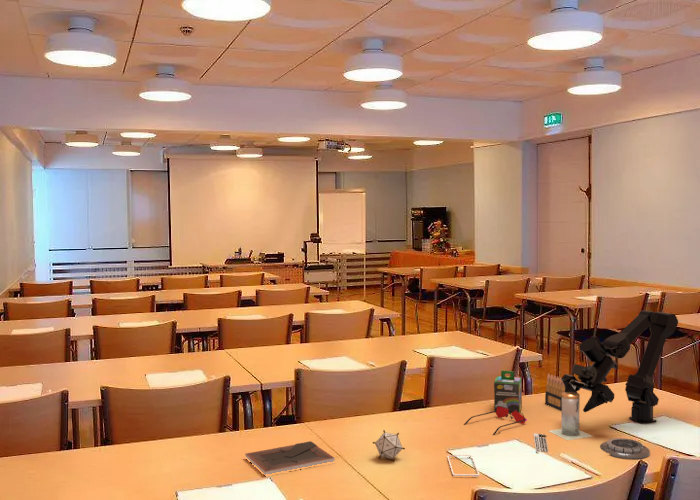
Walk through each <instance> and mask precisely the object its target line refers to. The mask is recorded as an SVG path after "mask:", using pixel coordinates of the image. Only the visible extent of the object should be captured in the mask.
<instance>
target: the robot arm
mask: <svg viewBox="0 0 700 500" xmlns="http://www.w3.org/2000/svg"><path fill="white" fill-rule="evenodd" d="M678 324H679V319H678V316H677V315H676V314H674V313H670V312H664V311H651V310H645V309H643V310H640V311H639V314H638V315H637V316H636V317H635V318H634V319H633V320H631V322H630V323H628V324H627V326H625V327H624V328H623V329H622V330H621V331H619V332H618V333H616V334H612V335H610V336H608V337H606V338H605V339H604V340H603V341H602V342H601V341H600V339H599V337H598V336H595V335H591V336H590V337H589V338H586V339H584V340H583V341H582V342H580V345H579V349H580V351H581V352H582V353H583V355H585V357H586V358H587V360H589V362H591V363H592V364H591V365H587V366H583V365H579V364H578V363H577V364H576V363H574V364H573V366H572V370H571V372H570V373H571V374H568V373H566V374H565V373H564V374H563V376H561V380H562V381H563V384H564V385H565V392H575V393H578V391H580V390H581V389H583V390H585V391H589V392H591V395H590V397H589V399H588V400H587V402H586V404H585V405H584V406H583V410H582V411H583V412H584V413H587V412H589V411H591V410H593V409H595V408H596V407H597V408H598V406H601V405H603V404H608V403H612V402H613V401H614V399H615V393H614V392H613V391H612V389H611V388H610V387H609V385H608V384H607V385H606V384H604V383H606V382H607V381H608V379H607V378H606V377H607V376H608V375H609V373H610V371H611V370H612V369H614V370H618V368H619V366H618V363H617V362H618V361H617V360H615V359H613V358H616V359H623V358H625V356H627V354H628V352H630V350H631V344H632V343H633V342H634V341H635V340H636V339H637V338H638V337H639V336H640V335H641V334H642V333H643V332H644V331H646V330H647V329H648V328H649V331H650V336H649V340H648V341H647V345H646V347H645V351H644V353H643V356H642V358H641V362H640V364H639V366H638V369H637V371H636V372H635V374H631V373H630V374H628V376H627V377H628V378H627V381H626V382H625V387H624V388H625V393H626V397H627V400H628V401H629V402H632V405H631V410H630V411H631V413H630V414H631V416H629V417H628V419H629V420H632V421H634V422H637V423H639V424H649V423H656V422H657V419H654V407H655V406H658V404H659V401H660V398H659V397H658V396H657V395H656V394H655V392H654V388H655V384H654V383H655V382H654V380H653V377H654V374H655V371H656V369H657V365H658V363H659V360H660V357H661V354H662V351H663V348H664V346H665V343H666V340H667V339H669V338H670V337H671V336H672V335H673V334H674V333H675V331H676V329H677V327H678ZM572 374H573V375H572ZM574 374H575V375H576V376H577V378H576V376H575V375H574ZM579 380H580V381H579ZM603 382H604V383H603Z"/></svg>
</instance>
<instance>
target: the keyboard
mask: <svg viewBox="0 0 700 500" xmlns="http://www.w3.org/2000/svg"><path fill="white" fill-rule="evenodd" d="M533 439H534V445H535V446H534V447H535V453H536V454H539V453H549V452H550V450H549V448H548V447H549V446H548V441H547V435H546V434H543V433H542V434H541V433H537V432H534V433H533Z"/></svg>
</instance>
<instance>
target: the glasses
mask: <svg viewBox="0 0 700 500" xmlns="http://www.w3.org/2000/svg"><path fill="white" fill-rule="evenodd" d="M496 408H497V410H496V411H489V412H485V413H482V414H481V413H480V414H477V415H473V416H471V417H470V418H468V419H467V420H466V422H464V424H463V425H464V426H466V425H467V424H468V423H469V421H470V420H472V419H473V418H475V417H480V416H486V415H488V414H493V413H495V414H496V418H498V419H500V418H508V417H509V413H508V411H509V409H508V408H506V407H502V406H497V407H496ZM510 410H512V409H510ZM513 411H514V412H512V413H510V414H511V415H510V417H509V418H510V419H511V420H513V419H514V422H511V423H507V424H503V425H500V426H498V428H496V429H495V431H494V432H493V433H492V436H495V435H496V434H497V432H498V431H499V430H500V429H501V428H503V427H507V426H510V425H514V424H517V423H519V424H522V425H524V424H526V422H527V421H528V419H527V418H526V417H525V415H524V413H522V412H521V411H520V412H518V411H516V410H513Z"/></svg>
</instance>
